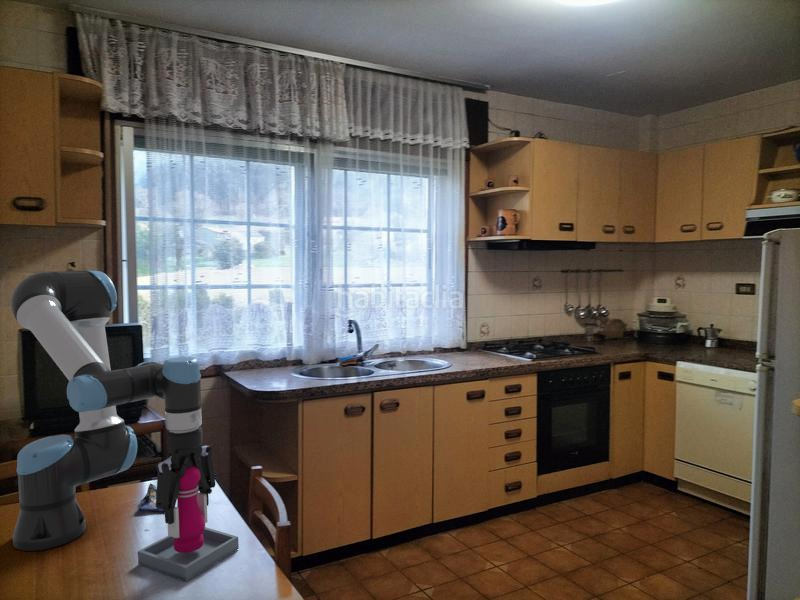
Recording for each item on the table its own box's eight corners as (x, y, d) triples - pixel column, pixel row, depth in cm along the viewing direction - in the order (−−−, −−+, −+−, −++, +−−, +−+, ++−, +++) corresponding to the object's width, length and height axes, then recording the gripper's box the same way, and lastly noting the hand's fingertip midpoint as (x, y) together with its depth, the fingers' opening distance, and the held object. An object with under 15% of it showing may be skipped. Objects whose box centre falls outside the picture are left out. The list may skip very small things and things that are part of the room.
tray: (138, 564, 127) (137, 551, 127) (192, 535, 140) (192, 523, 140) (186, 581, 120) (185, 567, 119) (238, 549, 133) (238, 536, 132)
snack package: (193, 500, 161) (160, 494, 166) (190, 480, 160) (156, 473, 164) (162, 526, 151) (127, 518, 155) (158, 504, 149) (123, 497, 153)
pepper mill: (195, 555, 125) (191, 465, 124) (164, 552, 127) (161, 463, 125) (211, 539, 132) (208, 454, 131) (183, 537, 134) (179, 452, 132)
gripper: (157, 443, 117) (162, 552, 119) (230, 418, 135) (233, 514, 136) (132, 438, 121) (137, 544, 122) (207, 415, 138) (210, 508, 140)
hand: (188, 528), depth 129 cm, fingers closed on pepper mill, 7 cm apart
